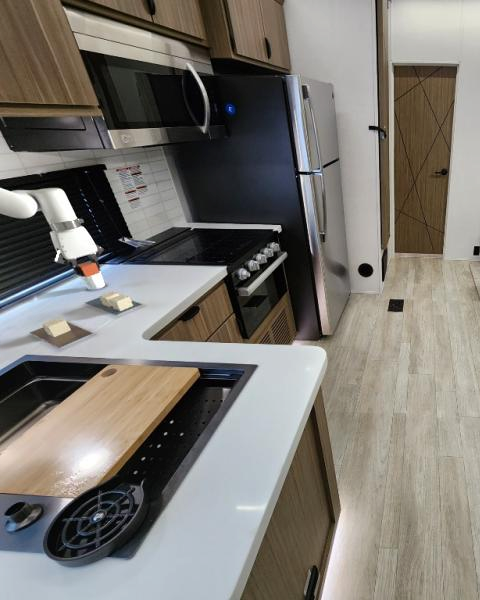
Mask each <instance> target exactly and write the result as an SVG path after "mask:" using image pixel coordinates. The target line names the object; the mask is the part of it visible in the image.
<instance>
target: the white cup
mask: <svg viewBox="0 0 480 600" xmlns="http://www.w3.org/2000/svg"><path fill="white" fill-rule="evenodd" d="M99 272H100V273H98V274H95V275H92V276H89V277H84V276H83V277H82V276H79V278H80V279H81V281H82V282H83V284H84V285H85V286H86V288H87V289H88V290H90V291H92V290H93V291H95V290H99V289H102V288H104V287H106V284H105V281H104V278H103V275H102V273H101V271H99Z"/></svg>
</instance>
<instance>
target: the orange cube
mask: <svg viewBox="0 0 480 600" xmlns="http://www.w3.org/2000/svg"><path fill="white" fill-rule="evenodd" d="M77 265H78V266H80V268H81V270H82V272H83V274H84V277H89V276H92V275H95V274H98V273H100V272H101V271H100V272H99V269H98V267H97V265H96V263H93V262H90V260H89V261H85V262H81V263H79V264H78V263H77Z"/></svg>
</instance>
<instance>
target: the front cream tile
mask: <svg viewBox="0 0 480 600" xmlns="http://www.w3.org/2000/svg"><path fill="white" fill-rule="evenodd" d="M67 322H68V321H66V319H63V318H61V317H56V318H54V319H50V320H47V321H45V322H43V323H41V326H42V328H43V327H44V329H45V331H46V332H47V334H49V335H51V336H53V337H56V336H58V335H61V334H63V333H66V332H68V331H71V329H70V328H69V326H68V324H67Z"/></svg>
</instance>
